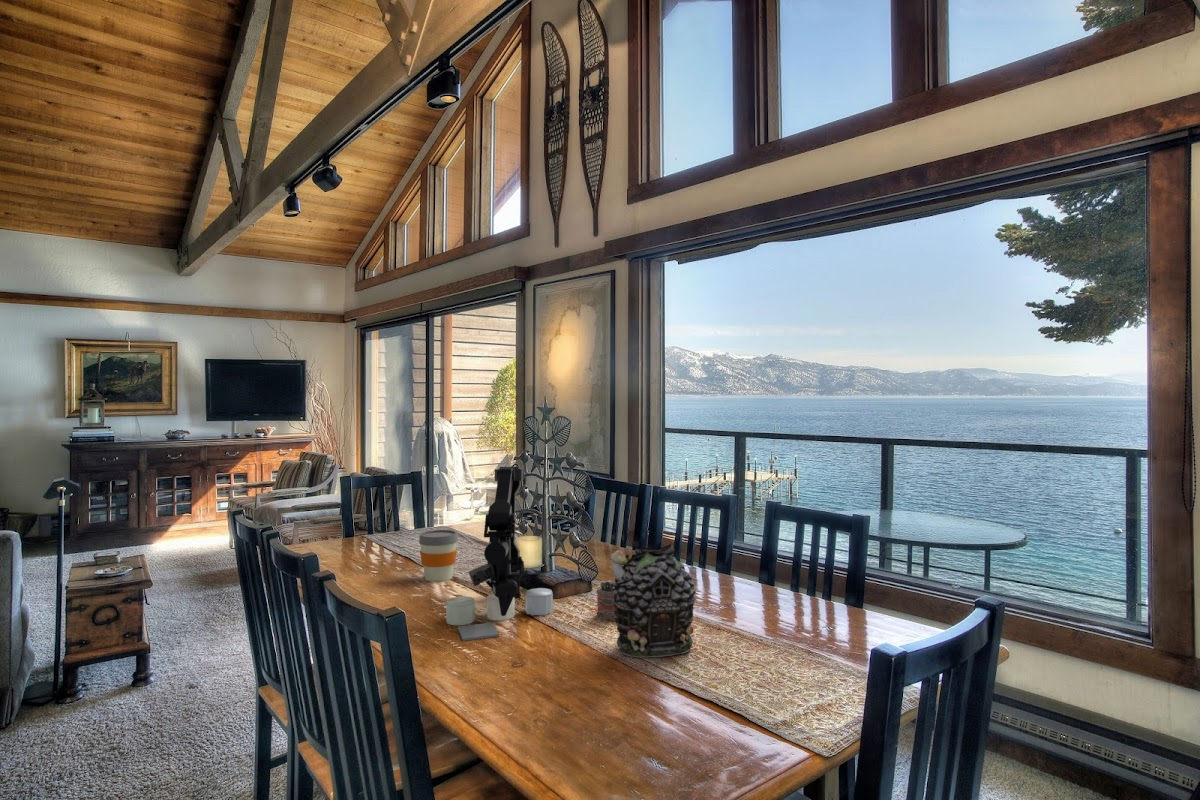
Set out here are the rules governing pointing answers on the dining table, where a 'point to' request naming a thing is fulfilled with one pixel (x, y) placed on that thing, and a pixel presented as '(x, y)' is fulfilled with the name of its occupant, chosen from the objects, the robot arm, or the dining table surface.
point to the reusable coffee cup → (438, 554)
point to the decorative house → (652, 603)
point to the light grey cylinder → (539, 601)
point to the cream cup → (498, 609)
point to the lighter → (605, 600)
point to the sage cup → (460, 610)
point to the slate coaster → (478, 631)
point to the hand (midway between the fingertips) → (500, 611)
